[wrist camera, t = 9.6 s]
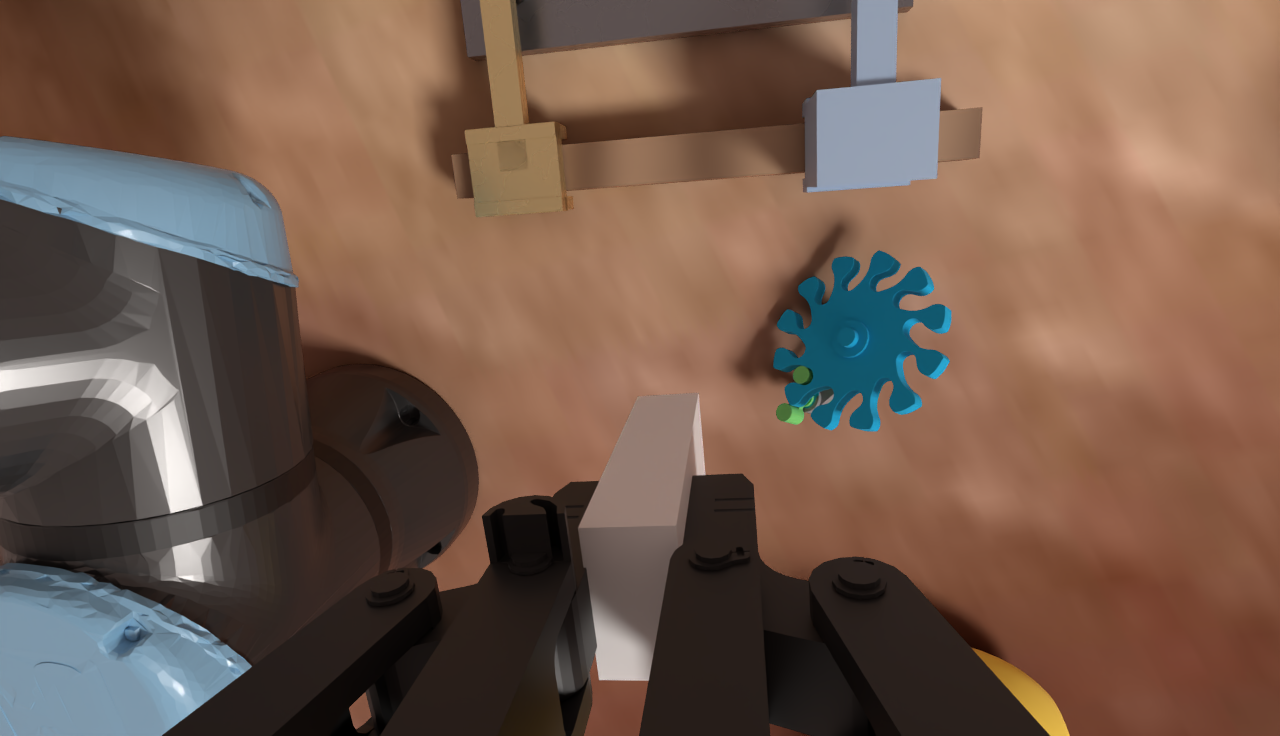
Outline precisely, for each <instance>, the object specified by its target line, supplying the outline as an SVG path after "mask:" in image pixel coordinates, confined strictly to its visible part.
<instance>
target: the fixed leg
mask: <svg viewBox="0 0 1280 736" xmlns="http://www.w3.org/2000/svg"><path fill="white" fill-rule="evenodd" d="M480 8H481V16H482V24H483V32H484V41H485V49H486V57H487V65H488V74H489V82H490V90H491V98H492V107H493V115H494V123H495V127H491V128H481V129H470V130H465V139H466V145H467V149H468V156H469V164H470V171H471V179H472V186H473V194H474V202H475V203H474V207H475V214H476V217H487V216H501V215H515V214H529V213H542V212H556V211H567V210H568V209H574V207H573V196H568V197H567V194H566V184H565V174H564V164H563V153H562V143H561V140H567V134H566V126H563V125H560V123H557V122H555V121H554V122H544V123H533V124H529V117H528V108H527V99H526V90H525V80H524V71H523V62H522V53H521V44H520V34H519V25H518V16H517V7H516V0H480Z"/></svg>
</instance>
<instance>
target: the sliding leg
mask: <svg viewBox="0 0 1280 736" xmlns="http://www.w3.org/2000/svg"><path fill="white" fill-rule="evenodd" d="M897 18H898V0H852V5H851V87H845V88H834V89H824V90H816V92H815V93H814V94H813V96H812V97H811V98H806V100H805V101H804V102H803V104H802V118H805V179H803V192H819V191H833V190H847V189H861V188H874V187H888V186H902V185H910V180H923V179H936V178H937V166H938V142H939V118H940V93H941V78H938V79H927V80H917V81H907V82H896V58H897Z"/></svg>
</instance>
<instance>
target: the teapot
mask: <svg viewBox="0 0 1280 736" xmlns="http://www.w3.org/2000/svg"><path fill="white" fill-rule="evenodd" d="M972 649H973V650H974V651H975V653H976V654H977V655H978V656H979V657H980V658H981V659H982V660H983V661H984V663H985V664H986V665H987V666H988V667H989V668H990V669H991V670H992V671H993V673H994V674H995V675H996V676H997V677H998V678H999V679H1000V680H1001V681H1002V683H1003V684H1004V685H1005V686H1006V687H1007V688H1008V689H1009V690H1010V691H1011V693H1012V694H1013V695H1014V696H1015V697H1016V698H1017V699H1018V700H1019V701H1020V703H1021V704H1022V705H1023V706H1024V707H1025V708H1026V709H1027V710H1028V711H1029V713H1030V714H1031V715H1032V716H1033V717H1034V718H1035V719H1036V720H1037V721H1038V723H1039V724H1040V725H1041V726H1042V727H1043V728H1044V729H1045V730H1046V731H1047V733H1048V734H1049V735H1050V736H1070V735H1069V732H1068V730H1067V727H1066V725H1065V722H1064V720H1063V718H1062V715H1061V713H1060V711H1059V709H1058V707H1057V706H1056V704H1055V702H1054V701H1053V699H1052V698H1051V697H1050V695H1049V694H1048V693H1047V692H1046V691H1045V690H1044V689H1043V688H1042V687H1041V686H1040V685H1039V684H1038V683H1037V682H1035V681H1034V680H1033V679H1032V678H1030V677H1029V676H1028V675H1027V674H1025V673H1024V672H1023V671H1021V670H1019V669H1018V668H1016V667H1015V666H1013V665H1011V664H1010V663H1008V662H1006V661H1004V660H1002V659H1000V658H998V657H996V656H993V655H991V654H988V653H986V652H983V651H981V650H978V649H974V648H972Z"/></svg>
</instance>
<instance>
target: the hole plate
mask: <svg viewBox="0 0 1280 736" xmlns="http://www.w3.org/2000/svg"><path fill="white" fill-rule="evenodd" d="M460 1H461V9H462V17H463V24H464V32H465V40H466V48H467V56H468V57H469V58H471V59H473V60H475V61H480V60H487V57H486V49H485V41H484V32H483V24H482V16H481V8H480V0H460ZM851 5H852V0H516V7H517V16H518V25H519V34H520V44H521V53H522V56H524V55H533V54H542V53H551V52H559V51H568V50H577V49H586V48H595V47H604V46H612V45H621V44H630V43H639V42H648V41H657V40H665V39H674V38H683V37H692V36H701V35H710V34H718V33H727V32H736V31H745V30H754V29H763V28H771V27H780V26H789V25H798V24H807V23H816V22H824V21H833V20H842V19H851ZM912 7H913V0H898V13H904V12H908V11H909V10H910V9H911V8H912Z"/></svg>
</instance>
